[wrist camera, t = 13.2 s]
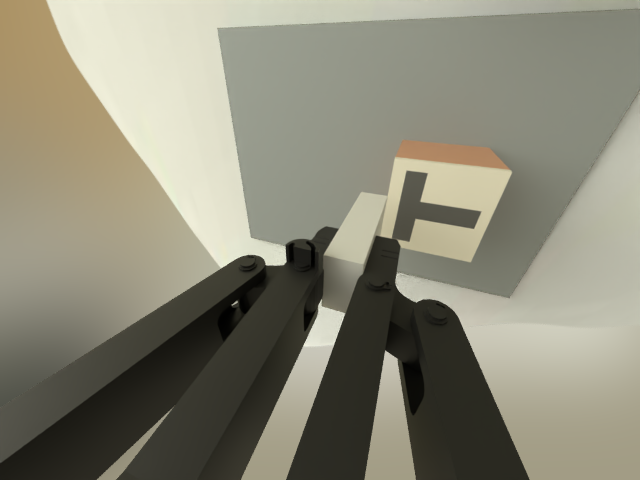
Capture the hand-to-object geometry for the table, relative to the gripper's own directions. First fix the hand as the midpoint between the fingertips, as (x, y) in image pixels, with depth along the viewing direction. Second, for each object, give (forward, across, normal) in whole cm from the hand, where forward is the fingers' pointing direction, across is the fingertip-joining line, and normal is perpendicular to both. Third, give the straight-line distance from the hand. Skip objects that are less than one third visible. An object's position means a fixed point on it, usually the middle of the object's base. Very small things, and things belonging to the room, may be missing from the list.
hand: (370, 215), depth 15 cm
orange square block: (+2, +4, 0) cm, 4 cm away
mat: (+8, -1, 0) cm, 8 cm away
